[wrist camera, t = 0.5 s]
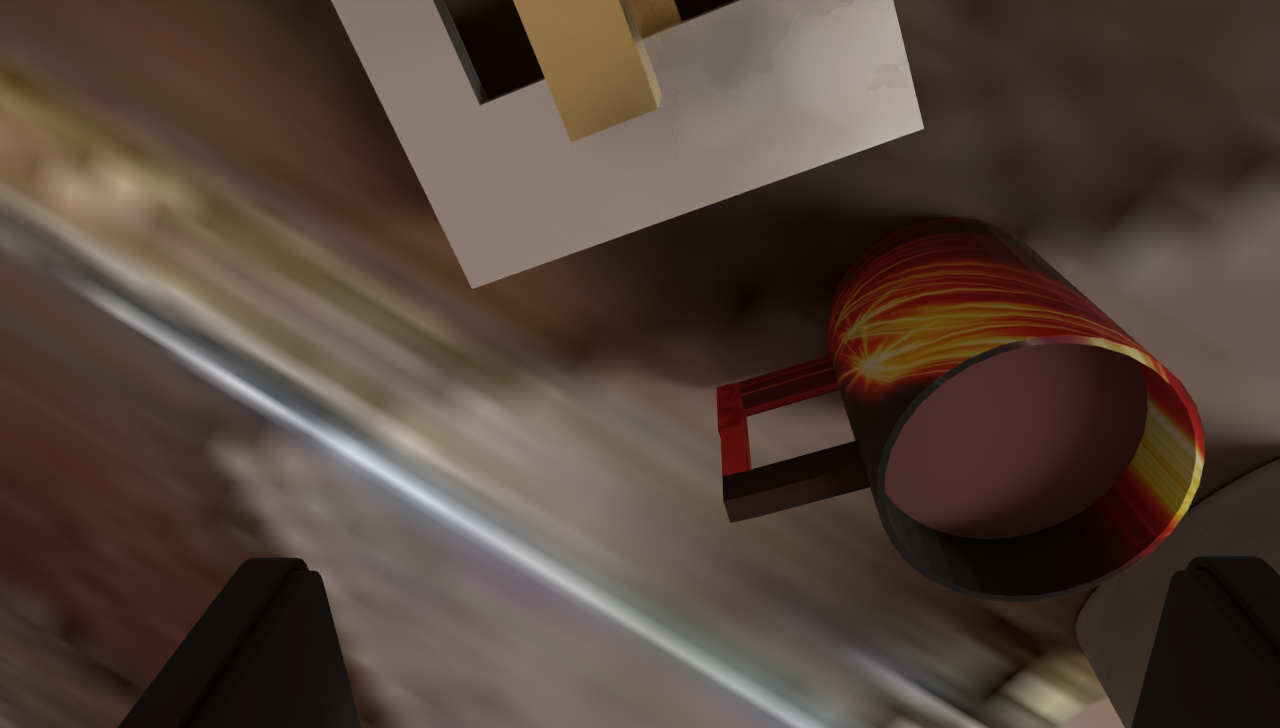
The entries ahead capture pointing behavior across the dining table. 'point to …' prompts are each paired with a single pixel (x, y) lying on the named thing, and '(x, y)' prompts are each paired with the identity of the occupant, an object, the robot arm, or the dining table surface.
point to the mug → (981, 419)
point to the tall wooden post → (597, 57)
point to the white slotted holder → (632, 121)
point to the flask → (1133, 601)
